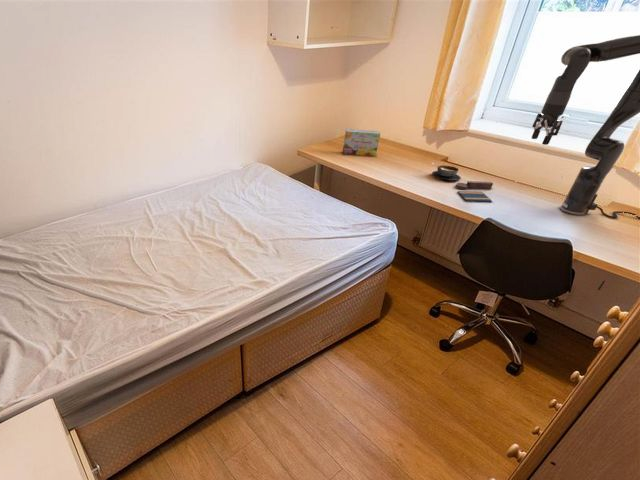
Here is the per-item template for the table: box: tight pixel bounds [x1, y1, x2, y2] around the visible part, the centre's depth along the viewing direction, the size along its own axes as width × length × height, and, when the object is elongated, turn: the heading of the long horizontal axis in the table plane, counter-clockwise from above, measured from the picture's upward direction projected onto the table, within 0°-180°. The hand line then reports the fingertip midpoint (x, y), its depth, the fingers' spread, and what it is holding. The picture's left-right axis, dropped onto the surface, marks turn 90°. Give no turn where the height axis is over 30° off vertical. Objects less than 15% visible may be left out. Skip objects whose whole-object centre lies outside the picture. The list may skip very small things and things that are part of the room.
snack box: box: [342, 128, 381, 158], centre depth 243 cm, size 21×6×15 cm, turn 75°
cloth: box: [456, 190, 493, 203], centre depth 190 cm, size 12×11×1 cm
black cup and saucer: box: [431, 162, 462, 181], centre depth 211 cm, size 15×16×7 cm
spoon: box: [455, 180, 494, 191], centre depth 199 cm, size 17×6×3 cm, turn 85°
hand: (539, 141), depth 166 cm, fingers open, 8 cm apart
